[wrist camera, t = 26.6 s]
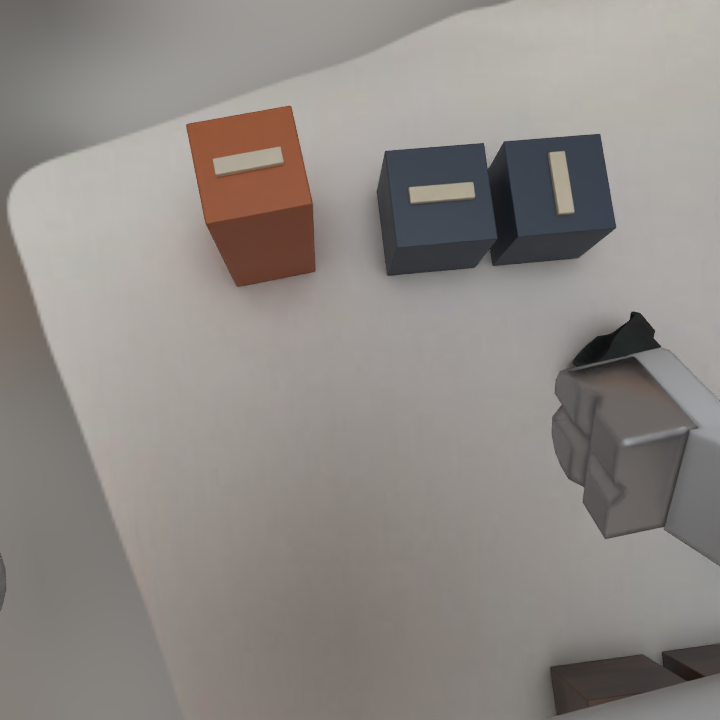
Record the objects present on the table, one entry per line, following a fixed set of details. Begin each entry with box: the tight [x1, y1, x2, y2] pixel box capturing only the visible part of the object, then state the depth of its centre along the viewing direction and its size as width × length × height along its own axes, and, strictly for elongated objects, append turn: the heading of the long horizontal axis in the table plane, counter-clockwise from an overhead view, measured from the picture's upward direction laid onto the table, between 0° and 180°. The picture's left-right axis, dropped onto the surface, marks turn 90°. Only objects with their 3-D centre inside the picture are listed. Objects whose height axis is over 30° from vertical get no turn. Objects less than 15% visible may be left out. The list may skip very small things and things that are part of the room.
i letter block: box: [186, 106, 315, 287], centre depth 32 cm, size 4×4×10 cm
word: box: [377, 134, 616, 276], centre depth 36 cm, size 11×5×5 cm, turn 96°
